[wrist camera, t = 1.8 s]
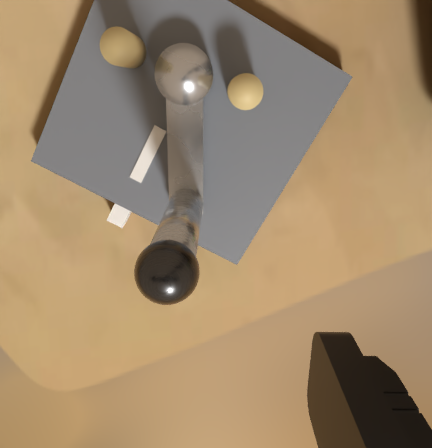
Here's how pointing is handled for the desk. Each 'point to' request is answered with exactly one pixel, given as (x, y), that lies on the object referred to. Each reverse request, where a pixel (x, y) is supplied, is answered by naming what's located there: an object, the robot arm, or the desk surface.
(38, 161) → the crank base
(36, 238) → the desk surface
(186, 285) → the crank
